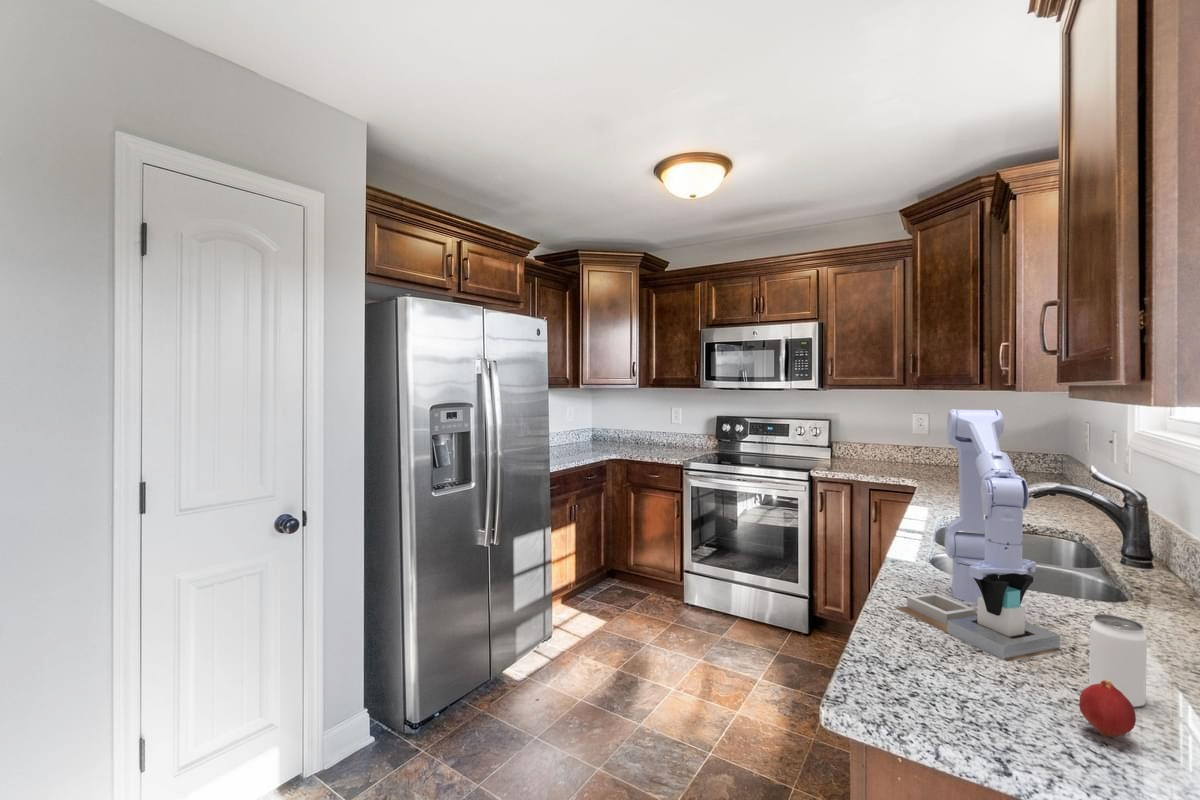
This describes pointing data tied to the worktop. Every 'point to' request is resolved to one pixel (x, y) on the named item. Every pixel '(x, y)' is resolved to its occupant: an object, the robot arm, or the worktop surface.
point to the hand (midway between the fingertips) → (1002, 612)
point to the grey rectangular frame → (953, 608)
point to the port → (1003, 638)
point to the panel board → (944, 628)
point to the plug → (1004, 614)
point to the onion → (1107, 709)
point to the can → (1119, 656)
